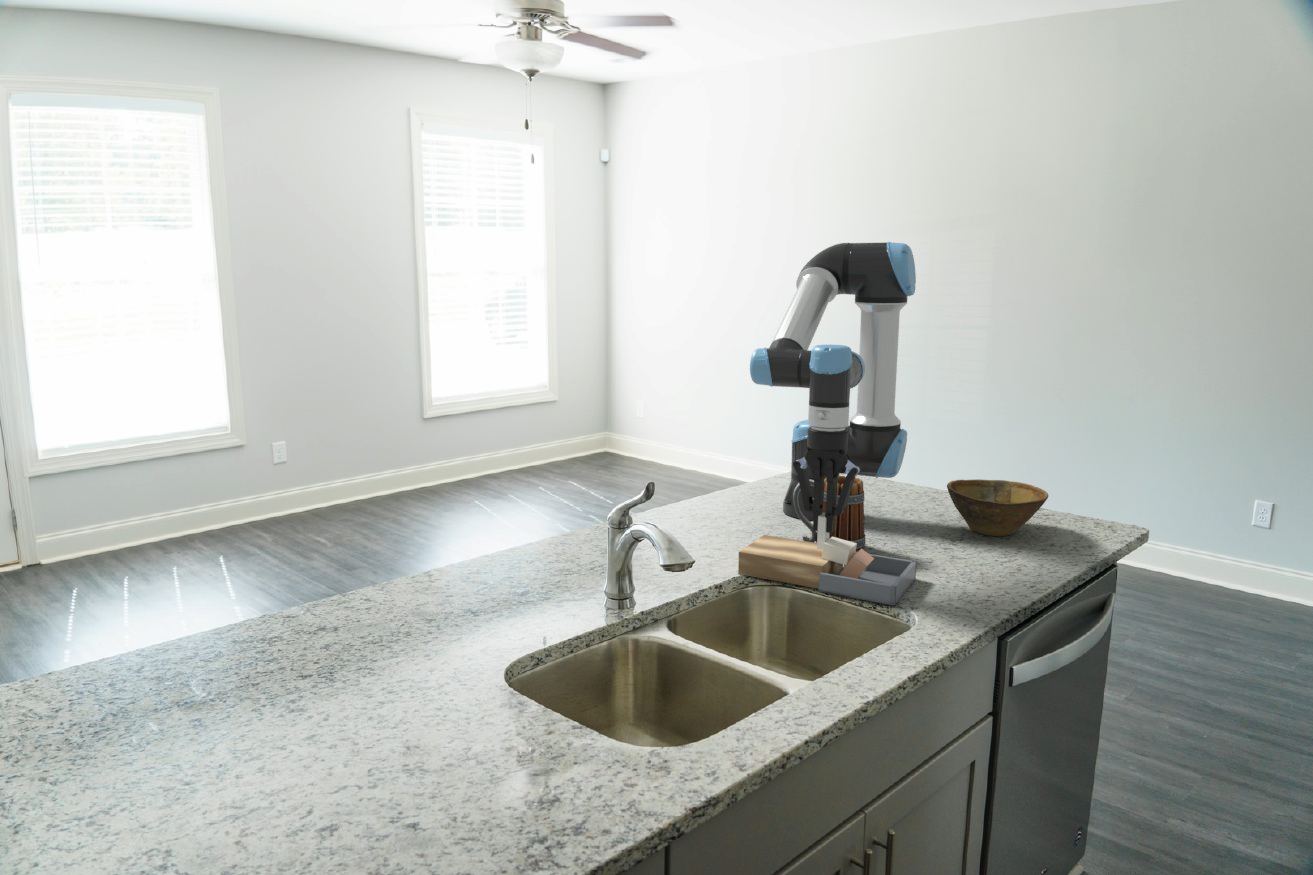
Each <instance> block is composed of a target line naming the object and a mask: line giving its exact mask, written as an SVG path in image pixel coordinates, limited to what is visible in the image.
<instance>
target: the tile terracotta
mask: <svg viewBox="0 0 1313 875" xmlns="http://www.w3.org/2000/svg"><path fill="white" fill-rule="evenodd" d="M869 554H870V553H869V552H867V551H866V550H865V549H864V550H863V549H861V550H859V551H858V552H857V553H856V554H855V555H854V556H853V558H852V559H851V560H850V562H849V563H848V564H847V565H846V567H845V568H844V569H843V571H842V572H841V573H840V576H844V577H850V578H856V579H859V578H860V576H861V575H862V574H863V573H864V571H865V570H866V569H867V567H868V566H869V565H870V564H871V562H872V561H873V560H874V558H873V557H872V556H871V555H869Z"/></svg>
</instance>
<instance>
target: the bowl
mask: <svg viewBox="0 0 1313 875" xmlns="http://www.w3.org/2000/svg"><path fill="white" fill-rule="evenodd" d="M946 488H947V491H948V494H949V496H950V499H951V501H952V503H953V505H954V507H955V509H956V510H957V511H958V513H959V514H960V515H961V517H962V518H963V520H964V521H965V523H966V524H967V525H968V528H969V529H970V530H971V531H973V532H974V533H978V534H982V535H986V536H992V537H1006V536H1010V535H1011V536H1012V535H1013V534H1014V533H1015V532H1016V531H1018V529H1021V528H1022V527H1023V526H1024V525H1025V524H1026V523H1027V522H1028V521H1029V520H1030V519H1032V518H1033V516H1034V515H1035V514H1036V513H1037V512H1038V511H1039V510H1040V509H1041V508H1042V506H1043V505H1044V504H1045V503H1046V501H1047V500H1048V498H1049V494H1048V492H1047V491H1046V490H1044V489H1042V488H1040V487H1038V486H1035V485H1032V484H1029V483H1025V482H1019V481H1010V480H1002V479H955V480H950V481H949V482H948V483H947V485H946Z"/></svg>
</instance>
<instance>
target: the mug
mask: <svg viewBox="0 0 1313 875" xmlns="http://www.w3.org/2000/svg"><path fill="white" fill-rule="evenodd" d="M826 478H827V477H826ZM826 478H825V479H824V499H823V509H824V511H823V512H822V513H826V498H827V481H826ZM845 478H846V475H839V476H838V480H837V500H836V507H837V504H838V500H839V497H840V493H841V490H842V487H843V483H844V480H845ZM809 480H810V485H811V486H813V487H814V480H811V479H809ZM800 490H801V489H800V484H799V483H798V484H797V486H796V487H795V490H794V493H793V501H794V507H795V511H796V513H797V515H798V517H799V518H798V519H799V521H801V522H802V524H804V525H805V526H806V527H807V528H808V529H809V531H810V532H811V536H809V537H808V534H802V541H807V542H813V543H817V534H818V531H814V529H813V522H811V520H808V519H807V518H806V517H805V516H804V515H803V514H802V512H801V510H800V508H799V503H798V495H799V492H800ZM831 537H836V538H839V539H843V540H846V541H850V542H854V543H857V547H856V552H858V551H859V550H861V549H863V550H864V551H865V548H866V534H865V491H864V482H863V480H862V479H860V478H858V477H855V479H854V483H853V486H852V489H851V493H850V496H849V499H848V502H847V506H846V509H845V511H844V512H843V513H842V514H840V515H836V516H835V527H834V531H833V532H832V533H829V539H830V538H831Z"/></svg>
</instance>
